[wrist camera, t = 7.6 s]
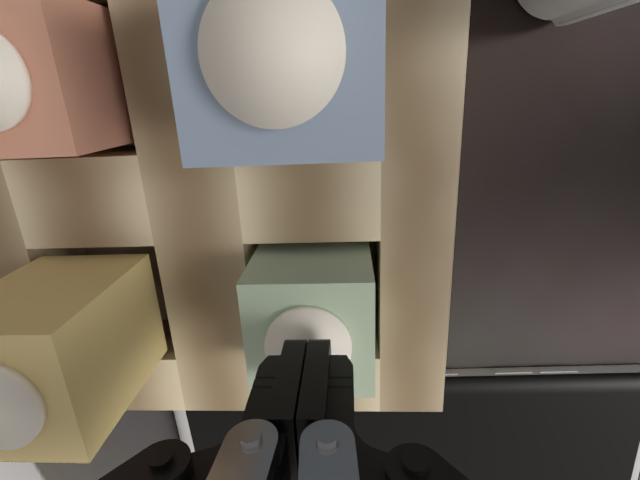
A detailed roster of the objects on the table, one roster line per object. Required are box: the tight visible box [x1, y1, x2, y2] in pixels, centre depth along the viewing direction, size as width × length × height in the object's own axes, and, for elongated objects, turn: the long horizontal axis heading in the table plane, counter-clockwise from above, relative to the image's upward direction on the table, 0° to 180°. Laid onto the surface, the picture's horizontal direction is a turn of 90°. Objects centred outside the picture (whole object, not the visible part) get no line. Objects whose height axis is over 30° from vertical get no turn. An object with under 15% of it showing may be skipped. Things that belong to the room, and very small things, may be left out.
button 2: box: [0, 254, 168, 463], centre depth 15 cm, size 5×5×6 cm
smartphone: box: [173, 364, 640, 480], centre depth 25 cm, size 13×27×2 cm, turn 95°
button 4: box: [236, 241, 375, 398], centre depth 17 cm, size 5×5×6 cm
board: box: [0, 0, 471, 412], centre depth 18 cm, size 20×20×4 cm
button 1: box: [0, 0, 134, 159], centre depth 15 cm, size 5×5×6 cm
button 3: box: [157, 0, 386, 168], centre depth 11 cm, size 5×5×6 cm
